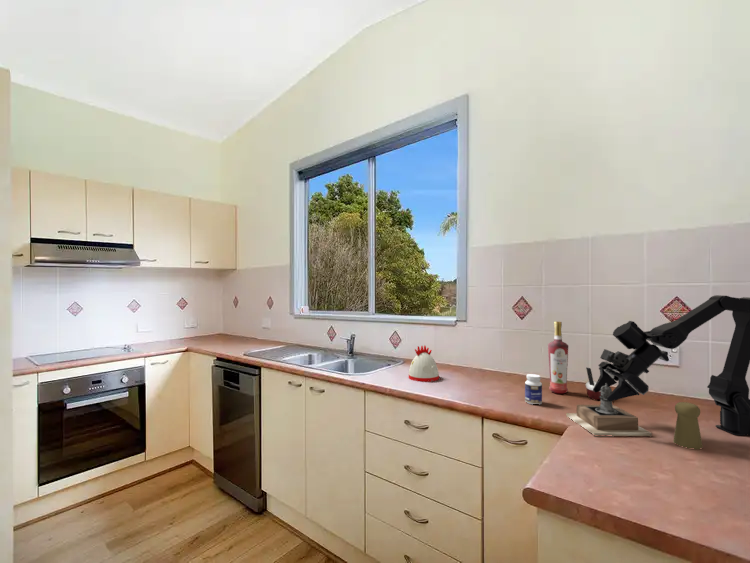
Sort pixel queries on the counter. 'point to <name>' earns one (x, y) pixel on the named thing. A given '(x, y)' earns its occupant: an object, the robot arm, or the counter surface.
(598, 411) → the grey chess piece
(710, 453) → the counter surface
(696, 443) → the cork
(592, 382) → the cocoa
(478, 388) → the counter surface
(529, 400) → the pill bottle
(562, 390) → the liquor
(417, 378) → the kitchen timer
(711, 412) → the counter surface
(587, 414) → the socket block
